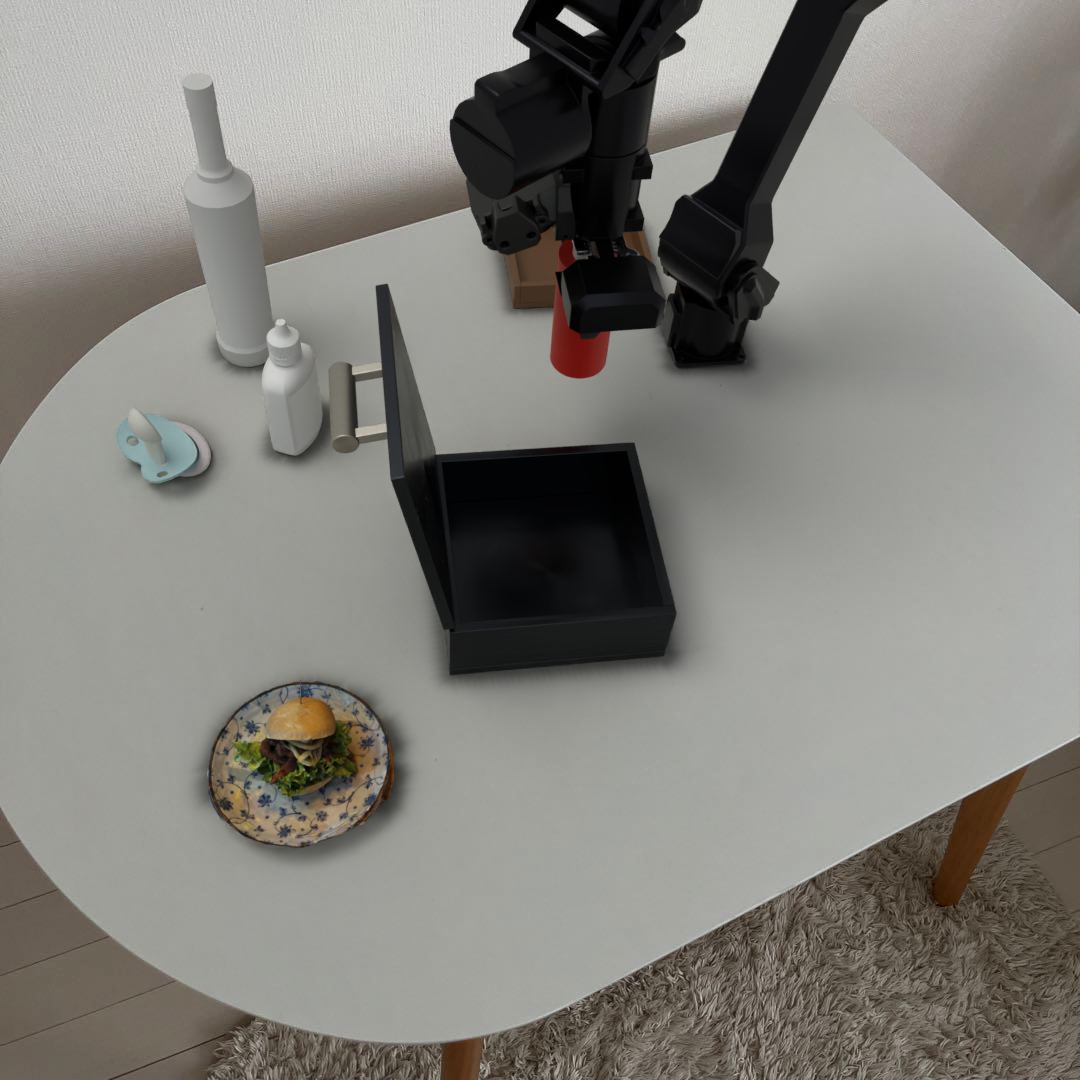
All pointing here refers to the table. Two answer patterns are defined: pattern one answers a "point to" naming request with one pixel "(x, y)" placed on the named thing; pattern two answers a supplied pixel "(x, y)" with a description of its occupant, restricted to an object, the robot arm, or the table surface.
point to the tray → (548, 269)
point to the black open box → (552, 558)
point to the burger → (300, 765)
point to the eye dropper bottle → (291, 391)
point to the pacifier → (162, 447)
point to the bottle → (226, 234)
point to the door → (399, 446)
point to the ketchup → (574, 333)
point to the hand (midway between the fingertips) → (581, 315)
